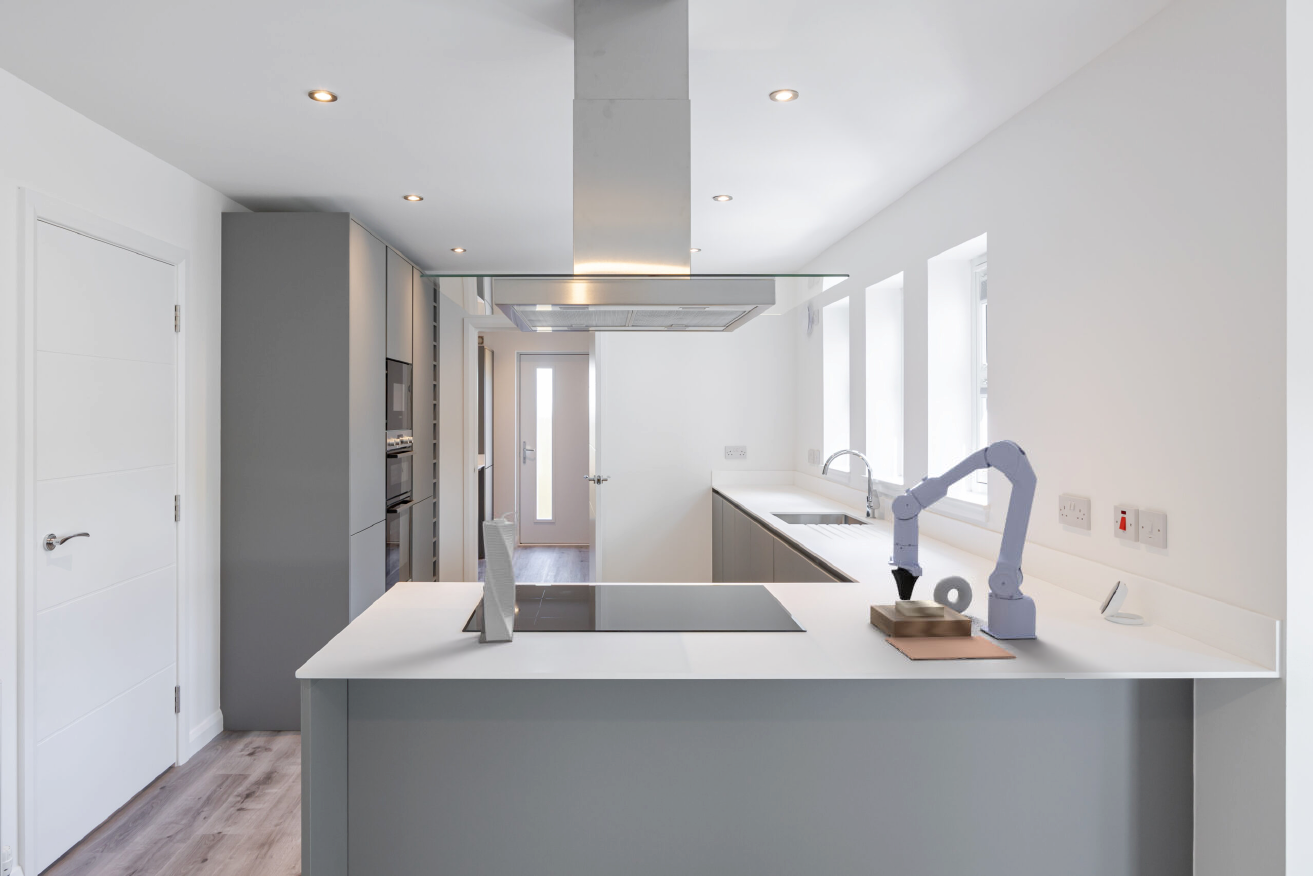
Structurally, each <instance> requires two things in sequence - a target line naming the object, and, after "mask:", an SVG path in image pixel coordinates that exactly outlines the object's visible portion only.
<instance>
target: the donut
mask: <svg viewBox="0 0 1313 876" xmlns="http://www.w3.org/2000/svg"><path fill="white" fill-rule="evenodd" d="M951 590H956V591H957V597H956V599H955V600H952V601H950V599H949V597H948V596H949V593H950V591H951ZM932 596H933V601H934V602H936V603H938V604H943V605H945V606H947V607H949V608H951V609H952V610H954V611H956V612H958V613H960V614H962V613H963V612H965V611H967V609H968V608H969V607H970V605H971V603H972V599H973V588H972V587H971V585H970V583H969V582H968V581H967V580H966V579H965V578H963V577H961V576H960V575H952V574H951V575H946V576H944V577H943V578H941V579H940V580H939V581H937V583H936V585H935V587H934V589H933V595H932Z"/></svg>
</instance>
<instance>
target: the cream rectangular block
mask: <svg viewBox="0 0 1313 876" xmlns="http://www.w3.org/2000/svg"><path fill="white" fill-rule="evenodd" d="M894 605H895V609H896V610H897V611H899V612H900V613H902V614H903V615H905V616H943V615H944V606H942V605H940V604H938V603H936V602H934V599H933V600H930V599H929V600H895V603H894Z"/></svg>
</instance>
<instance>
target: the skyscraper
mask: <svg viewBox="0 0 1313 876" xmlns="http://www.w3.org/2000/svg"><path fill="white" fill-rule="evenodd" d="M509 514H510V515H511V514H515V515H516V517H515V518H516V519H515V521H514V522H511V521H508V520H507V518H505V517H506V516H507V515H509ZM519 516H520V513H519V512H518V511H513V510H512V511H511V510H510V511H506V512H504V513H503V515H501V518H498V517H497V518H493V520H491V519H490V520H484V521H482V533H483V534H482V535H483V547H484V555H485V562H486V564H485V565H486V566H485V572H484V579H483V580H484V585H483V590H482V591H483V593H482V594H483V595H482V597H481V608H482V609H481V617H480V623H481V629H480V634H479V640H478V643H479V644H486V643H489V644H490V643H491V644H492V643H493V644H494V643H512V642H513V632H514V625H515V615H516V614H515V611H516V578H515V570H514V565H513V558H514V553H515V552H514V551H515V546H516V539H517V538H516V536H517V526H518V525H517V523H518V520H519Z"/></svg>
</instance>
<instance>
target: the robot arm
mask: <svg viewBox="0 0 1313 876" xmlns="http://www.w3.org/2000/svg"><path fill="white" fill-rule="evenodd" d="M992 467H993V468H994V469H995V470H997V471H999V472H1000V473H1002V474H1003V475H1004V476H1005V477H1006V478H1007V480H1008V481H1009V482H1010V483H1011V484H1012V488H1011V493H1010V499H1009V502H1008V503H1009V504H1008V509H1007V512H1006V513H1007V514H1006V518H1005V523H1004V524H1005V525H1004V528H1003V529H1004V530H1003V533H1002V534H1003V535H1002V538H1001V542H1000V543H1001V544H1000V549H999V553H998V557H997V560H996V564H995V569H993V571H992V572H991V573H990V575H989V576H988V579H987V581H988V582H987V583H988V584H987V585H988V587H989V590H988V593H987V594H988V599H987V600H988V602H987V603H988V604H987V605H988V607H987V626H980V627H979V630H981V631H982V630H983V632H984V631H985V633H986V634H988V635H990V636H991V635H992V637H993V636H994V638H995V639H999V640H1006V639H1007V640H1009V639H1018V640H1019V639H1038V635H1036V630H1037V626H1036V625H1037V624H1036V623H1037V617H1036V616H1037V607H1036V604H1035V602H1034V601H1035V600H1033V598H1032V597H1031V596H1030V595H1028V594H1025V595H1024V593H1023V592H1022V590H1021V589H1020V587H1021V586H1022V584H1023V581H1024V574H1023V571H1022V561H1023V555H1024V554H1023V552H1024V548H1025V542H1026V537H1027V532H1028V527H1029V523H1030V517H1031V513H1032V508H1033V503H1034V498H1035V493H1036V492H1035V491H1036V487H1037V483H1038V482H1037V481H1038V480H1037V479H1038V478H1037V475H1036V473H1035V471H1034V469H1033V467H1032V465H1031V463H1030V460H1029V458H1028V456H1027V454H1026V452H1025V450H1024V449H1022V448H1021V446H1020V445H1018V444H1017V442H1015V441H1012V440H1009V439H1003V440H1002V439H1001V440H998V441H995V442H993V443H991V444H990V445H989V446H985V447H983V448H981V449H978V450H977V451H975V452H973V453H970V455H968V456H966V457H965V458H964V459H963V460H961V461H960V462H959V463H957V464H956V465H954V466H953V467H951V468H950V469H948V470H947V471H946V472H944V473H943V474H942V475H934V474H932V475H930V476H928V475H925V476H924V477H922V478H921V482H919V483H917V484H916V485H914V486H913V487H912V488H910V487H908V488H906V489H905V490H904V491H905V494H900V495H898V496H897V497H896V498H895V499H893V501H892V503H891V511H892V514H893V515H894V518H893V520H894V523H893V553H892V554H893V555H892V556H889V561H888V565H889V566H894V567H897V568H896V569H895V568H894V569H891V575H892V576H893V578H894V581H895V584H896V587H897V591H898V596H899V599H900V601H911V598H912V595H913V591H914V588H915V585H916V583H917V581H918V579H919V578H920V577H922V576H923V567H922V566H921V565H920V562H919V533H920V532H919V528H920V527H919V514H920V513H921V511H922V510H926V509H927V508H929V507H930V506H931V505H933V504H935V503H937V502H939V501H940V500H941V499H943V498H944V497H946V496H947V495H948V490H949V487H950V486H953V485H954V484H955V483H957V482H959V481H960V480H962V479H964V478H965V477H967V476H969V475H971V474H972V473H974V472H975V471H977V470H981V469H982V470H983V469H989V468H992Z"/></svg>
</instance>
